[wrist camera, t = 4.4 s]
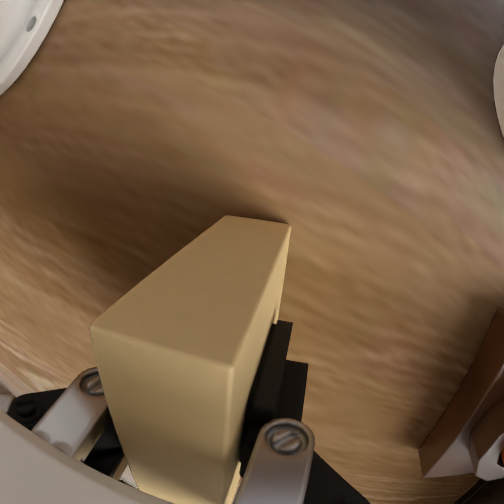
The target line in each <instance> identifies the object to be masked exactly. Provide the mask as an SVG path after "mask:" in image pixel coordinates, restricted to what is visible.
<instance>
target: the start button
mask: <svg viewBox="0 0 504 504" xmlns="http://www.w3.org/2000/svg"><path fill="white" fill-rule="evenodd" d="M501 458H502V461H503V464H504V449H503V450H502V452H501Z"/></svg>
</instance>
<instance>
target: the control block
mask: <svg viewBox="0 0 504 504" xmlns="http://www.w3.org/2000/svg"><path fill="white" fill-rule="evenodd" d="M503 449H504V309H501V308H498V310H497V312H496V314H495V317H494V319H493V322H492V324H491V326H490V329H489V331H488V333H487V335H486V338H485V340H484V342H483V344H482V346H481V348H480V350H479V352H478V354H477V356H476V358H475V360H474V362H473V364H472V366H471V368H470V370H469V372H468V374H467V376H466V377H465V379H464V381H463V383H462V385H461V386H460V388H459V390H458V392H457V393H456V395H455V397H454V398H453V400H452V402H451V403H450V405H449V406H448V408H447V410H446V411H445V413H444V414H443V416H442V417H441V419H440V421H439V422H438V424H437V425H436V426H435V428H434V429H433V431H432V432H431V434H430V435H429V437H428V438H427V439H426V441H425V442H424V444H423V445H422V446H421V448H420V449H419V451H418V452H419V458H420V464H421V470H422V477H423V478H432V477H444V476H454V475H462V474H470V473H475V476H477V477H479V478H481V479H483V480H486V481H491V480H496V479H500V478H504V464H503V461H502V458H501V452H502V450H503Z"/></svg>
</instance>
